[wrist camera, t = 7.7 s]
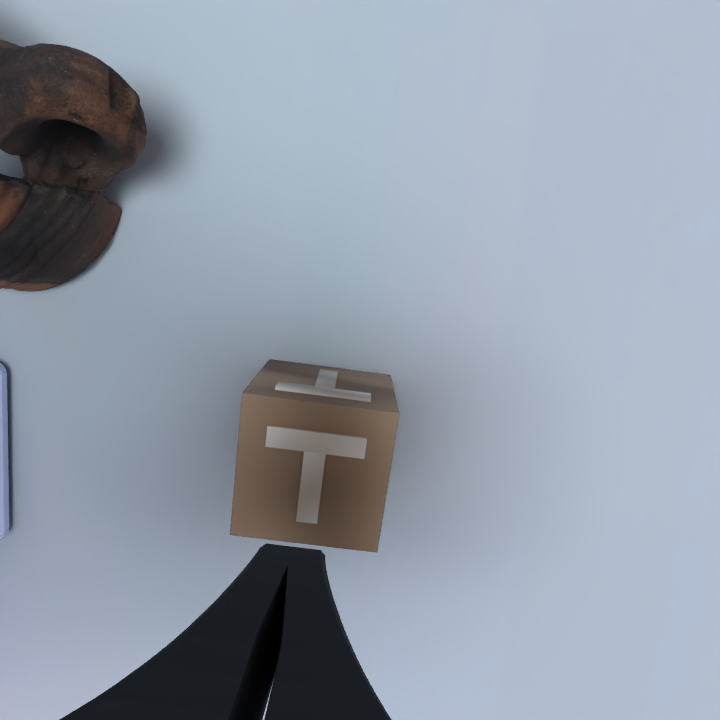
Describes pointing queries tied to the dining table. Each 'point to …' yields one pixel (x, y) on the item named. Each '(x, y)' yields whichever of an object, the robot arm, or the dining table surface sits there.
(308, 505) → the letter cube
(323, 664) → the robot arm
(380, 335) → the dining table surface
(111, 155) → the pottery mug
